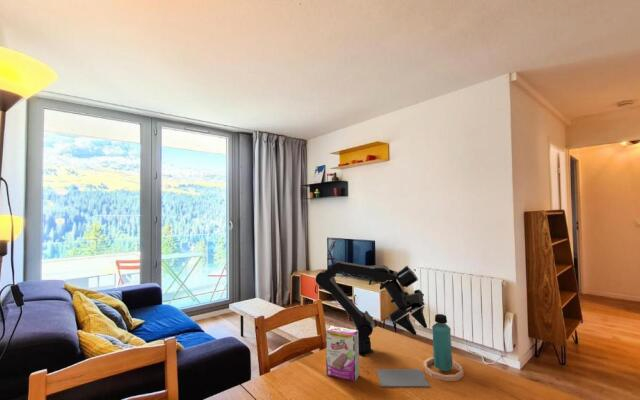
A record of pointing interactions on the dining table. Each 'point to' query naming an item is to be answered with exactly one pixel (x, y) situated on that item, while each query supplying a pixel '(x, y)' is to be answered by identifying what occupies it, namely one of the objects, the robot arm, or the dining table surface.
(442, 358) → the beverage bottle
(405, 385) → the rubber mat
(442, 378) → the pale pink ring
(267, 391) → the dining table surface
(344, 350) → the candy bar box
